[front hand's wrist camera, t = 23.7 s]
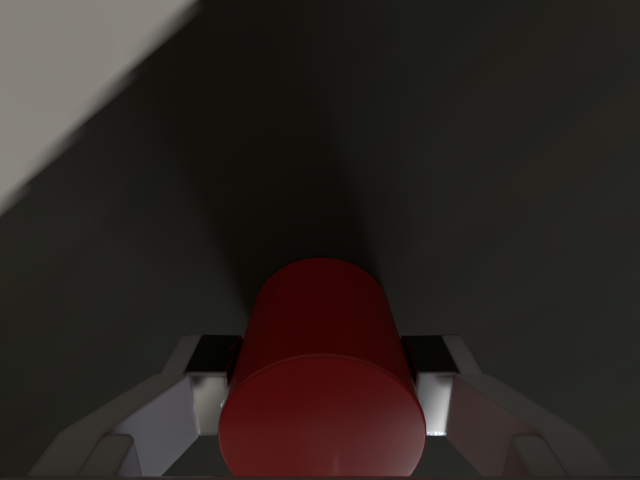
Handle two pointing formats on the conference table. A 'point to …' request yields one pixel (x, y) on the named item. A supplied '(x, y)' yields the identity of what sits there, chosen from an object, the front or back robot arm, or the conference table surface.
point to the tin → (321, 381)
